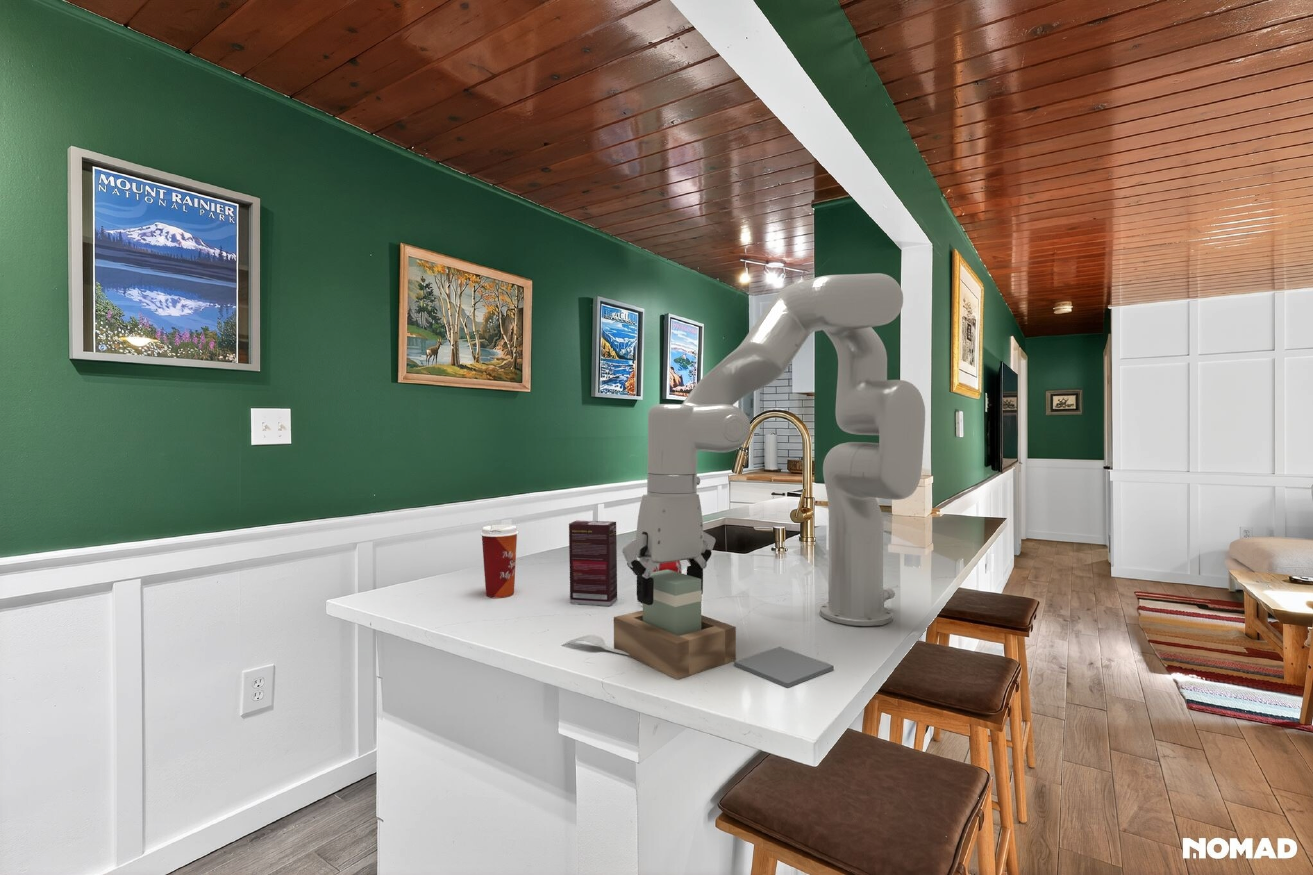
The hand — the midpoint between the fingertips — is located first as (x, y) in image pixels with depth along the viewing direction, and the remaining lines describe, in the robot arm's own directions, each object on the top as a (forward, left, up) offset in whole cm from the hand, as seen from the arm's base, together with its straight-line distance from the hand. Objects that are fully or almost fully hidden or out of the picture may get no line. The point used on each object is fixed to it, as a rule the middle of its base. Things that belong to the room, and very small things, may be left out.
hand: (670, 597), depth 97 cm
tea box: (0, 0, -9) cm, 9 cm away
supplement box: (-6, -32, -9) cm, 34 cm away
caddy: (0, 0, -9) cm, 9 cm away
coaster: (-9, +14, -9) cm, 19 cm away
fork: (+6, -6, -9) cm, 12 cm away
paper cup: (+6, -49, -9) cm, 50 cm away
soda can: (-9, -14, -9) cm, 19 cm away
